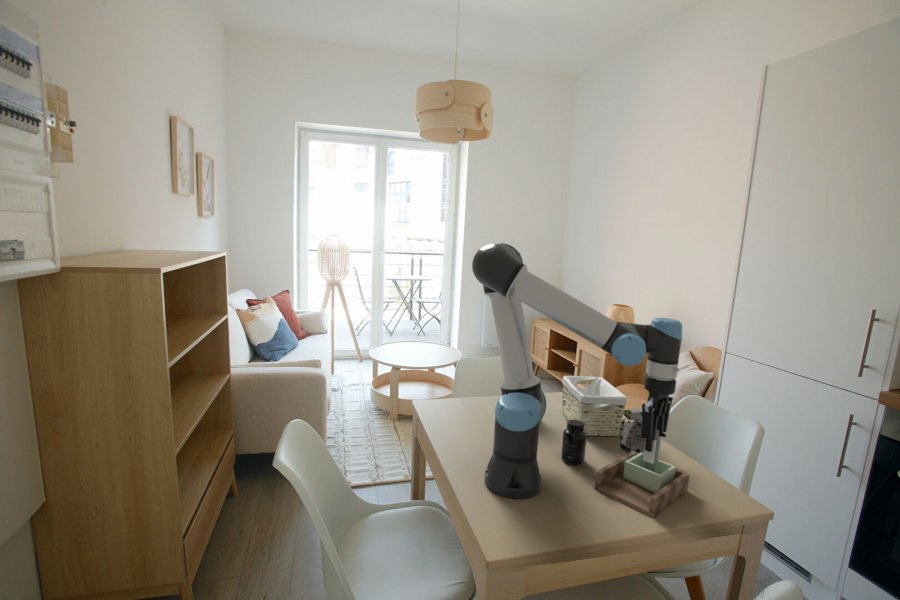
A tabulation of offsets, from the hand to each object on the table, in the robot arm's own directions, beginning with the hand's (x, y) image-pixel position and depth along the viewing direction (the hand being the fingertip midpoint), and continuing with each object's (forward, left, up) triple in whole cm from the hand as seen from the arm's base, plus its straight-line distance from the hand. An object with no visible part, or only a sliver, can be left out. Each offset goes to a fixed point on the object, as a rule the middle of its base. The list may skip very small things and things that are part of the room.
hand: (650, 459), depth 125 cm
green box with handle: (0, 0, -6) cm, 6 cm away
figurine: (+16, +11, -8) cm, 21 cm away
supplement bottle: (-5, +21, -8) cm, 23 cm away
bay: (-4, 0, -8) cm, 8 cm away
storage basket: (+24, +34, -8) cm, 42 cm away
